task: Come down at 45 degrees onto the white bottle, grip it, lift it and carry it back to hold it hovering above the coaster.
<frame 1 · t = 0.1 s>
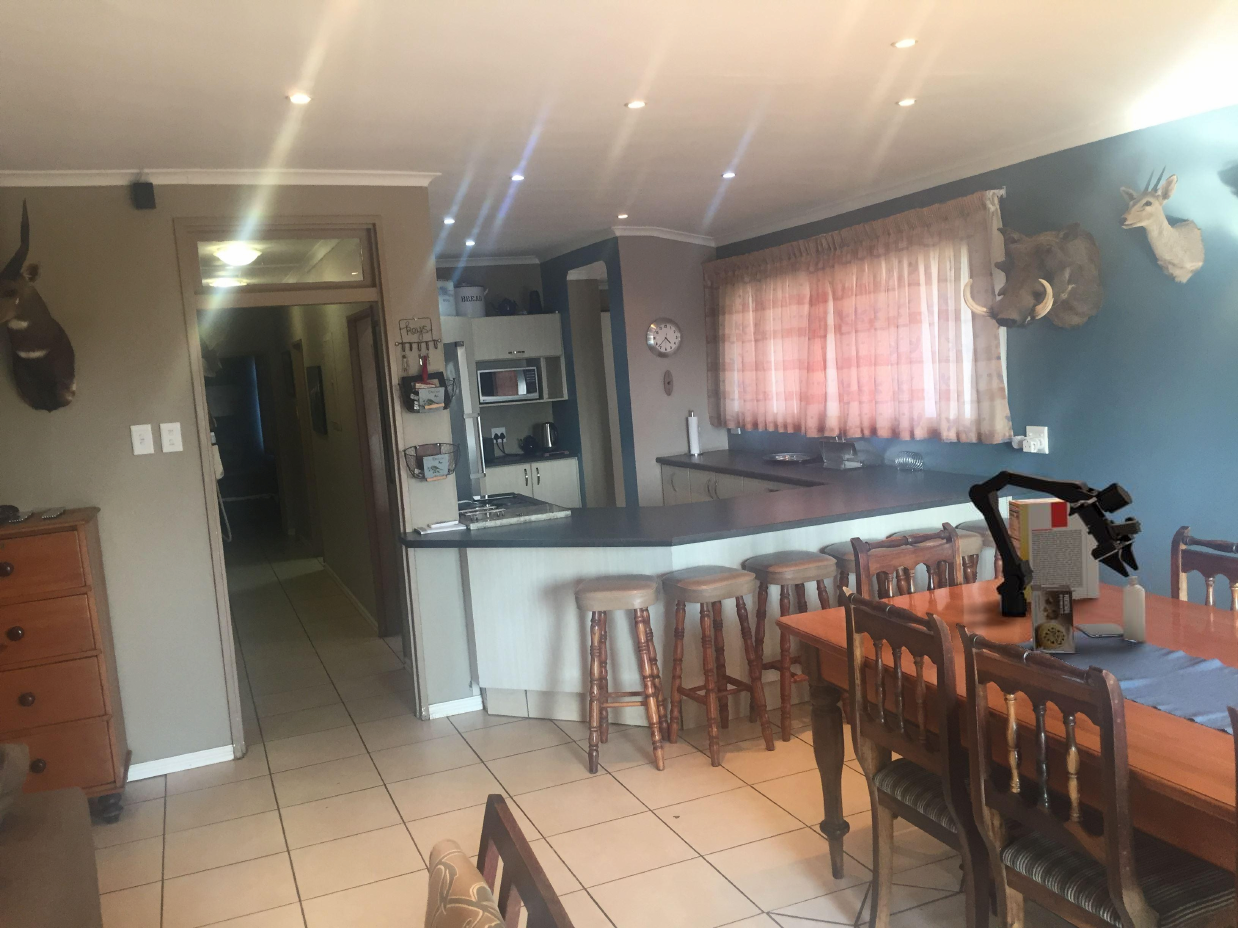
hand: (1132, 573, 237), 15 cm above the table, tool tilted 35°, fingers open, 9 cm apart
white bottle: (1134, 639, 229), on the table
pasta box: (1054, 597, 275), on the table
cookie box: (1052, 650, 225), on the table
coaster: (1102, 630, 237), on the table
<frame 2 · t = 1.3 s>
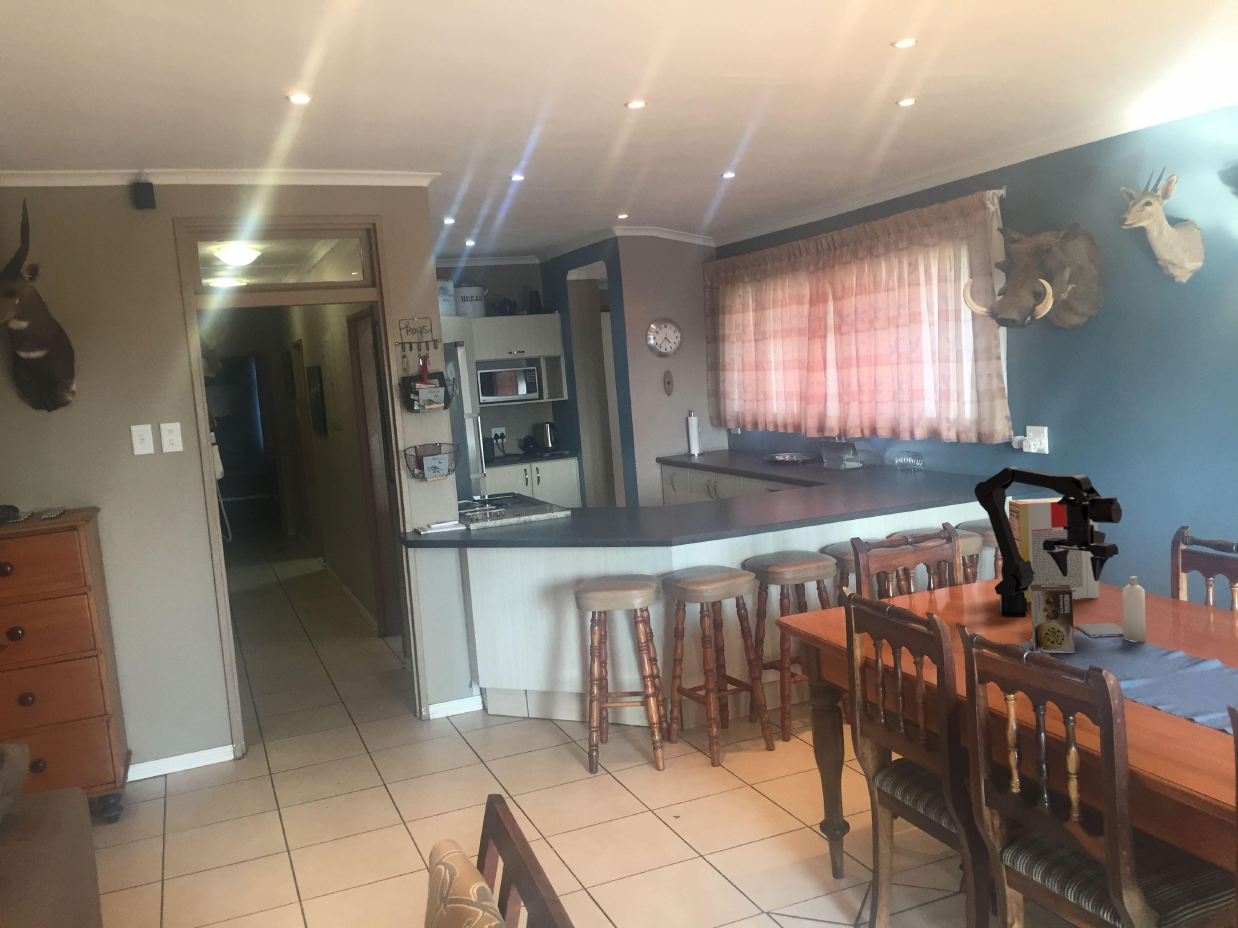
hand: (1080, 578, 243), 13 cm above the table, tool pointing down, fingers open, 9 cm apart
nothing on the table moved.
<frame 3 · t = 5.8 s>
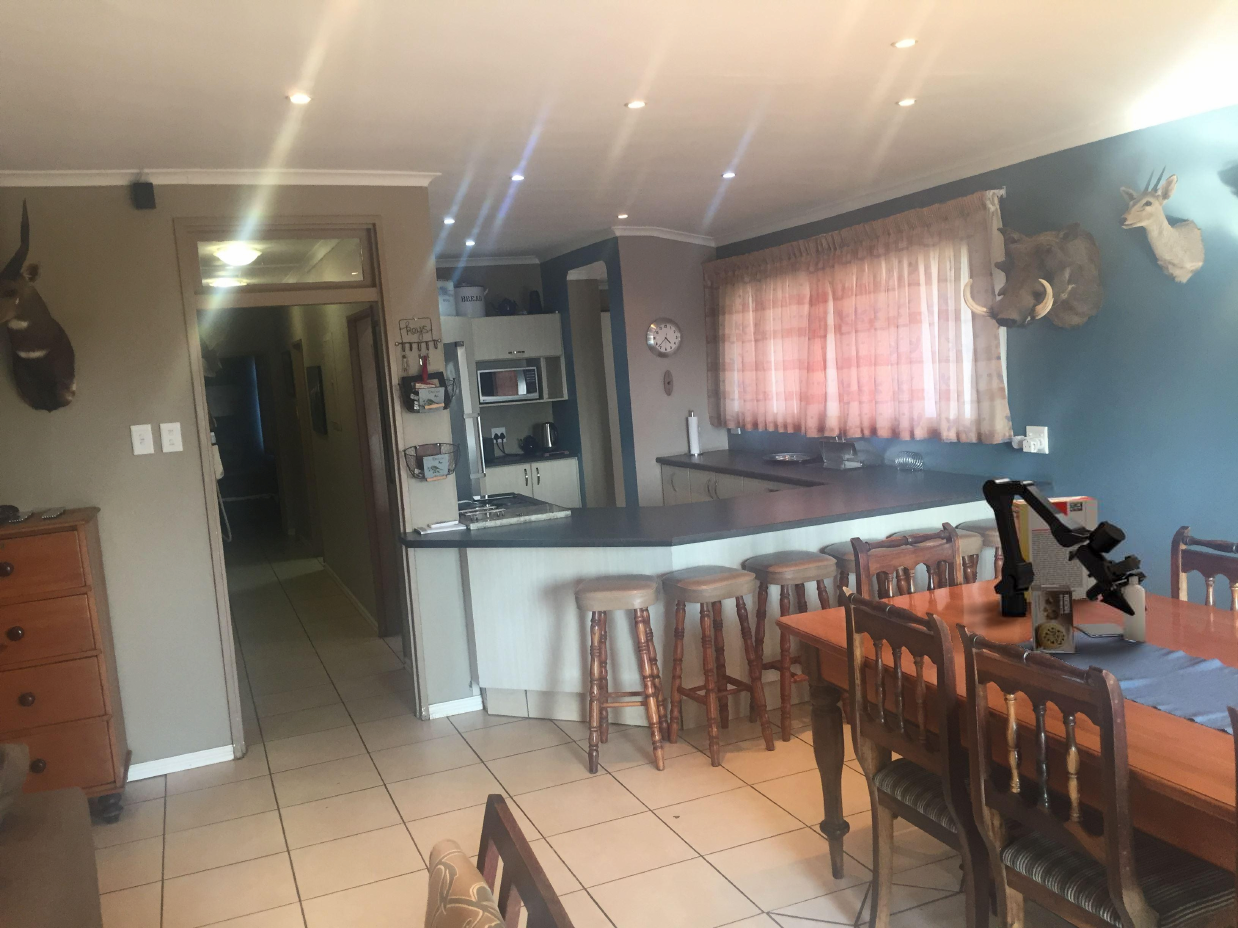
hand: (1139, 613, 227), 7 cm above the table, tool tilted 45°, fingers closed on white bottle, 5 cm apart
white bottle: (1134, 639, 229), on the table, touching gripper
everything else where it was.
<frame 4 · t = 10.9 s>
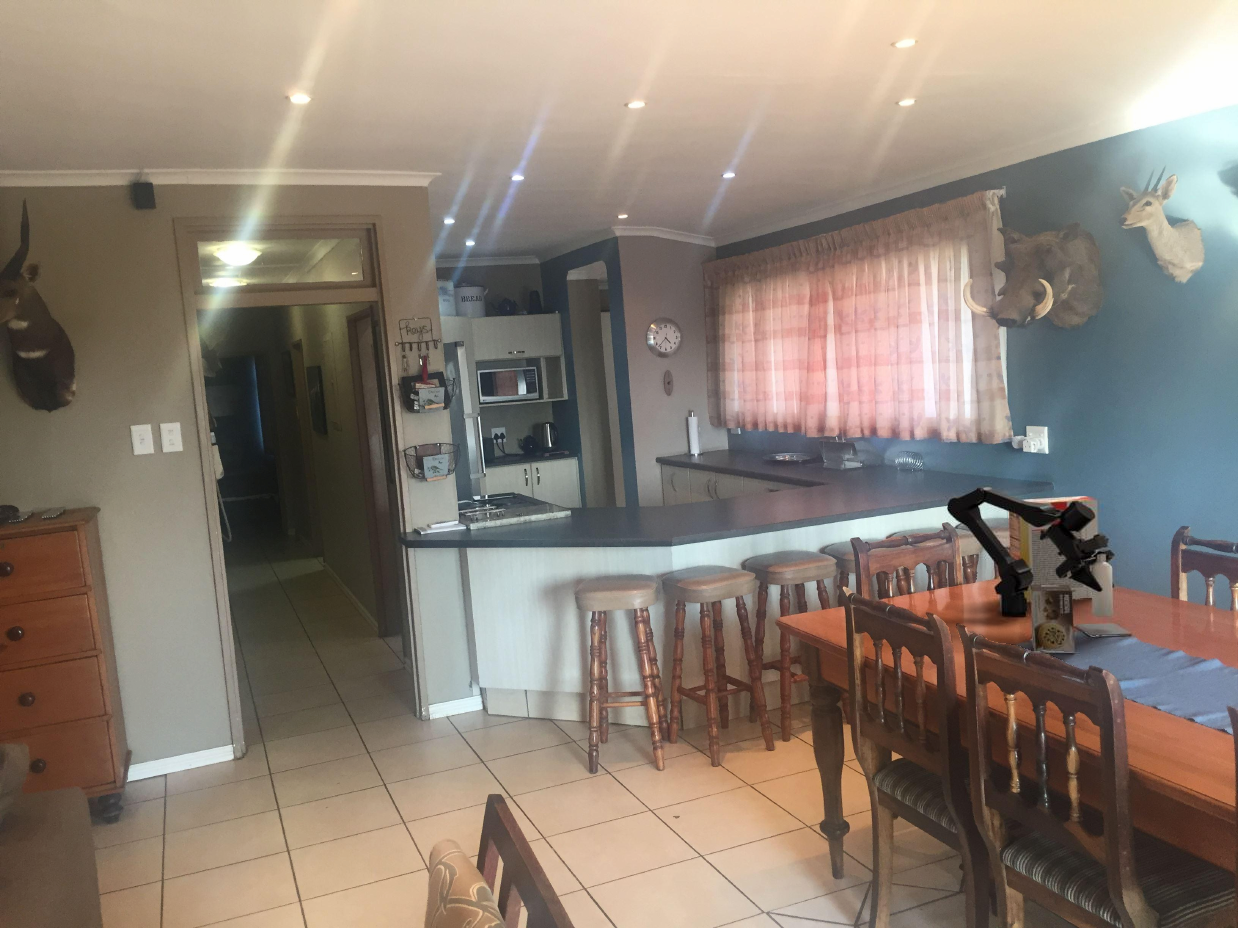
hand: (1107, 589, 235), 11 cm above the table, tool tilted 45°, fingers closed on white bottle, 5 cm apart
white bottle: (1102, 614, 237), point 4 cm above the table, touching gripper
everything else where it was.
at the end: the gripper is holding white bottle; white bottle point 4.4 cm above the table; white bottle 0.1 cm from the coaster (horizontally) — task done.
